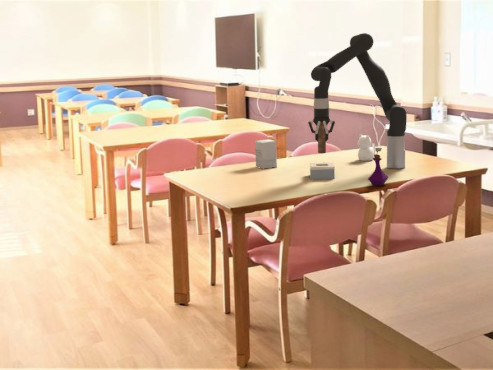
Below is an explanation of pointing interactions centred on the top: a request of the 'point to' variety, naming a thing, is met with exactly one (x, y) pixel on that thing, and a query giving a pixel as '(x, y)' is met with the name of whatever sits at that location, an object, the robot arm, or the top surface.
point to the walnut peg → (321, 138)
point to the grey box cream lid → (322, 171)
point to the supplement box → (265, 153)
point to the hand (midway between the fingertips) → (321, 140)
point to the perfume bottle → (378, 172)
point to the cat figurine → (365, 148)
